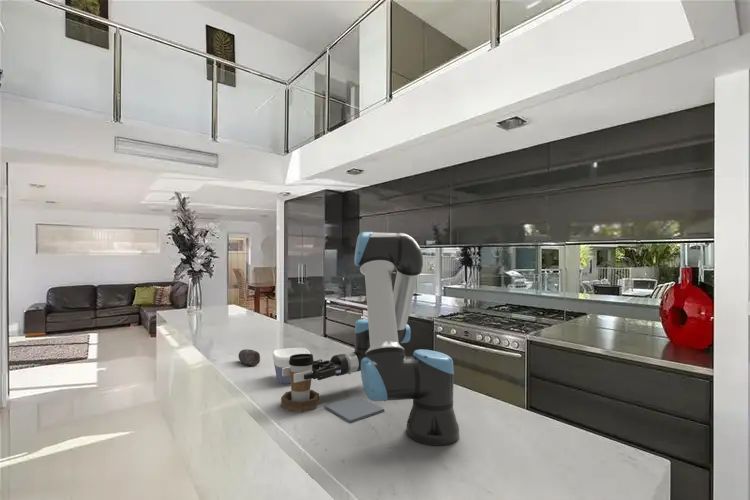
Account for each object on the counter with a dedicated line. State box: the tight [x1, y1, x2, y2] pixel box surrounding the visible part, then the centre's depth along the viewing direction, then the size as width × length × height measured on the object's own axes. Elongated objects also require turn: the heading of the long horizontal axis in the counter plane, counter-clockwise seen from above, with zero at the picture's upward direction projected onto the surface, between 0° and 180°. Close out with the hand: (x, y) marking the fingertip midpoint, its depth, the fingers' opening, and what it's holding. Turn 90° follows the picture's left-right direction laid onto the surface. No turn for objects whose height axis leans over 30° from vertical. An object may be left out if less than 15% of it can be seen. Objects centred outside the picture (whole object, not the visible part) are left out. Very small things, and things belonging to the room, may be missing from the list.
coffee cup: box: [289, 353, 315, 402], centre depth 125 cm, size 8×8×15 cm
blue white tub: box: [272, 347, 311, 385], centre depth 151 cm, size 15×15×11 cm
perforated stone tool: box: [238, 348, 261, 367], centre depth 172 cm, size 15×5×7 cm, turn 48°
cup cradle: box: [280, 389, 320, 413], centre depth 125 cm, size 12×12×3 cm
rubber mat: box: [324, 396, 385, 424], centre depth 121 cm, size 14×14×1 cm
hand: (288, 375), depth 122 cm, fingers closed on coffee cup, 8 cm apart
